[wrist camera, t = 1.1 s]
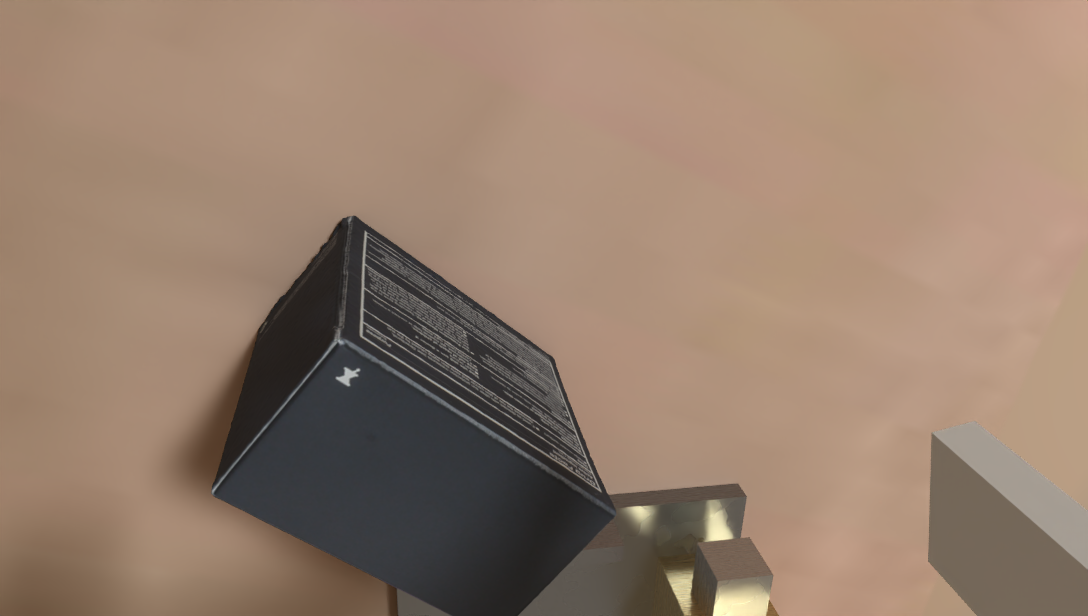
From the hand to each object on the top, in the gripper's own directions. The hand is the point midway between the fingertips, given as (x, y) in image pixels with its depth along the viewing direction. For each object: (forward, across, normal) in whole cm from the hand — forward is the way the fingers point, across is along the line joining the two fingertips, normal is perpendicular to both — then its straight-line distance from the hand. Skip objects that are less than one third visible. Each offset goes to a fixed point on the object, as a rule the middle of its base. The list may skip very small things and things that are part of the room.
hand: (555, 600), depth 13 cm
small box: (+20, -3, -5) cm, 21 cm away
